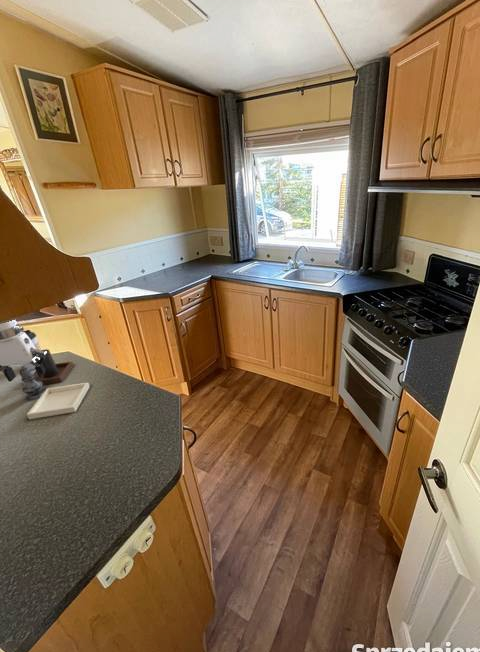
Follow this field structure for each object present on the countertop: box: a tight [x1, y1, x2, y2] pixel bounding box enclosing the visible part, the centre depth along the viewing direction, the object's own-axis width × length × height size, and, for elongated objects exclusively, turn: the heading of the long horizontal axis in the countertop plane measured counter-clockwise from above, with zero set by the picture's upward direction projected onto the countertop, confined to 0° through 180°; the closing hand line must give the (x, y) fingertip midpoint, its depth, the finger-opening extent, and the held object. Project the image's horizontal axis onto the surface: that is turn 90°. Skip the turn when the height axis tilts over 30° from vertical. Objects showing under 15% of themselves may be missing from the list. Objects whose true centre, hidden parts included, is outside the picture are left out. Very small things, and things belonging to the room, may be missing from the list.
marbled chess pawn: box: [18, 365, 46, 400], centre depth 101 cm, size 6×6×12 cm
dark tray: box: [32, 361, 74, 386], centre depth 114 cm, size 12×12×2 cm
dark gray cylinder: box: [36, 348, 59, 378], centre depth 112 cm, size 5×5×10 cm
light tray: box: [26, 382, 91, 420], centre depth 99 cm, size 14×14×2 cm
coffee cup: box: [21, 329, 42, 370], centre depth 119 cm, size 9×9×15 cm
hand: (27, 376), depth 100 cm, fingers open, 8 cm apart
